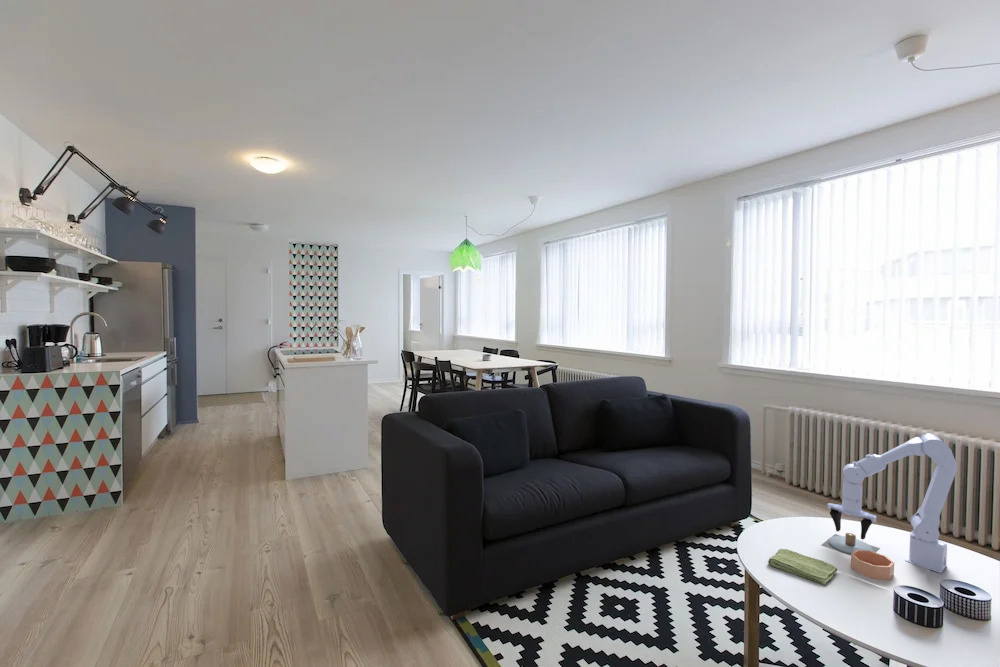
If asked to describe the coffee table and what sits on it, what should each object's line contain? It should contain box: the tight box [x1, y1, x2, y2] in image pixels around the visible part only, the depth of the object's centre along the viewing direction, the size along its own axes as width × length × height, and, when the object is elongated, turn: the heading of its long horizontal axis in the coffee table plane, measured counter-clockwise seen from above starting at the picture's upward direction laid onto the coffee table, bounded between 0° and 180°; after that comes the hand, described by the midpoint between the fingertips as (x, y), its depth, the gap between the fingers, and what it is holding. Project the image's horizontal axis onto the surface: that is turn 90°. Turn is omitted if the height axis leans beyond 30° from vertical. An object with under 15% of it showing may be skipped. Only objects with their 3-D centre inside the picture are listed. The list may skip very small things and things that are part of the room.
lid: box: [828, 532, 873, 555], centre depth 178 cm, size 13×13×4 cm
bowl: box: [850, 550, 895, 581], centre depth 162 cm, size 11×11×4 cm
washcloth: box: [767, 548, 838, 586], centre depth 164 cm, size 13×18×3 cm
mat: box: [821, 533, 881, 556], centre depth 178 cm, size 14×14×1 cm
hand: (850, 534), depth 178 cm, fingers open, 7 cm apart
